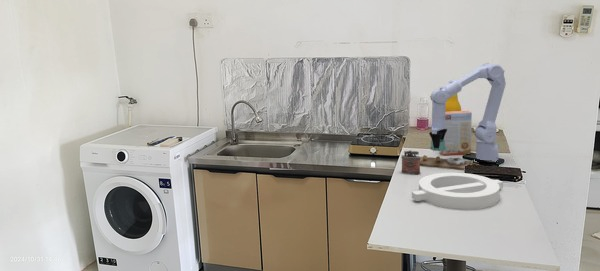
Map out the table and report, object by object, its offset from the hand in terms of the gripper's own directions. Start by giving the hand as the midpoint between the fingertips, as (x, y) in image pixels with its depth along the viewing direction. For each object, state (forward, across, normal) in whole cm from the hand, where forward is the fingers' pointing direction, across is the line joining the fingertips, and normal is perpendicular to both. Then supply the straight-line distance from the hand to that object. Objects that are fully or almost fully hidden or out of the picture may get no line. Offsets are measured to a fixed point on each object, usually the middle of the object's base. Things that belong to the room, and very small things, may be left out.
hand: (438, 146), depth 209 cm
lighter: (+8, +18, -7) cm, 21 cm away
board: (+8, 0, +2) cm, 8 cm away
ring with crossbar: (+9, +38, +17) cm, 43 cm away
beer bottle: (+8, -44, -4) cm, 45 cm away
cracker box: (+8, -20, +3) cm, 22 cm away
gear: (+1, 0, 0) cm, 1 cm away
